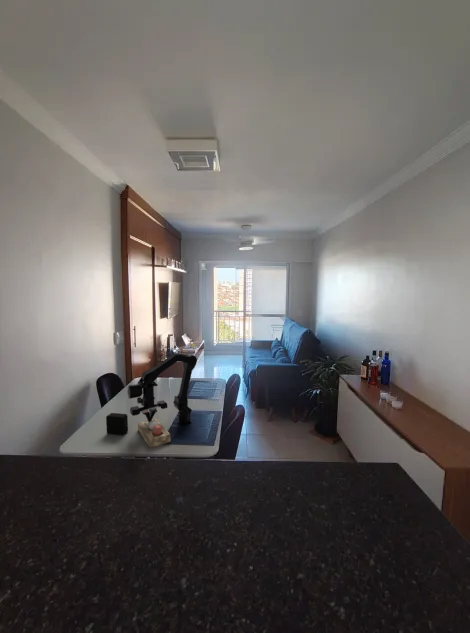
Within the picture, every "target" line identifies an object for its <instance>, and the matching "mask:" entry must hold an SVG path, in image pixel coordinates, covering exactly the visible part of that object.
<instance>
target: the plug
mask: <svg viewBox="0 0 470 633" xmlns="http://www.w3.org/2000/svg"><path fill="white" fill-rule="evenodd" d="M156 425H157V421H150V422H149V431H153V427H154V426H156Z"/></svg>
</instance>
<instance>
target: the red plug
mask: <svg viewBox="0 0 470 633" xmlns="http://www.w3.org/2000/svg"><path fill="white" fill-rule="evenodd" d="M159 435H162V430H161V426H160V425H156V426H154V427H153V436H159Z"/></svg>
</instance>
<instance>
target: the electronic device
mask: <svg viewBox="0 0 470 633" xmlns="http://www.w3.org/2000/svg"><path fill="white" fill-rule="evenodd" d="M105 420H106V421H105V424H106V434H108V435H111V434H112V435H113V436H125V434H127V433H128V432H129V423H128V414H126V413H117V412H111V413H109V414H108V415H106V417H105Z"/></svg>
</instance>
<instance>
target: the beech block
mask: <svg viewBox="0 0 470 633" xmlns="http://www.w3.org/2000/svg"><path fill="white" fill-rule="evenodd" d="M152 421H157V425H160V426H161V430H162V435H159V436H153V431H149V426H147V427H146V422H148V420H145V421H142V422H137V430H138V432H139V434H140V435H141V437H142V438H143V439H144V440H145V442H146V443H147V444H148V446H149V447H150V448H154V447H159V446H161V445H164V444H165V445H166V444H168V443H171V433H170V432H169V431H168V430H167V429H166V428H165V426H163V425H162V424H161V423H160V421H159V420H158V419H157V418H152Z"/></svg>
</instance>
